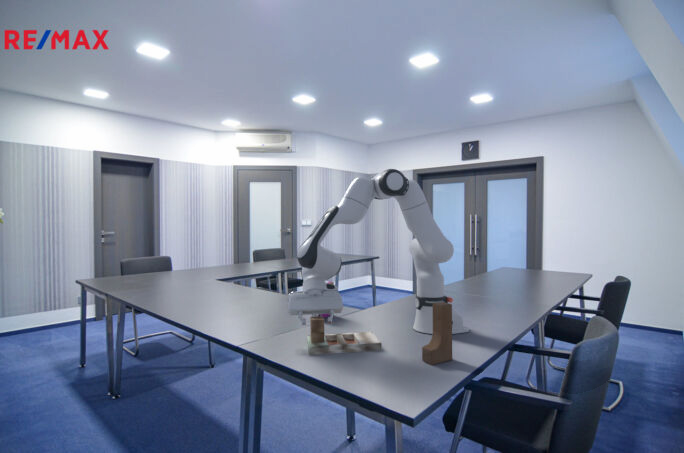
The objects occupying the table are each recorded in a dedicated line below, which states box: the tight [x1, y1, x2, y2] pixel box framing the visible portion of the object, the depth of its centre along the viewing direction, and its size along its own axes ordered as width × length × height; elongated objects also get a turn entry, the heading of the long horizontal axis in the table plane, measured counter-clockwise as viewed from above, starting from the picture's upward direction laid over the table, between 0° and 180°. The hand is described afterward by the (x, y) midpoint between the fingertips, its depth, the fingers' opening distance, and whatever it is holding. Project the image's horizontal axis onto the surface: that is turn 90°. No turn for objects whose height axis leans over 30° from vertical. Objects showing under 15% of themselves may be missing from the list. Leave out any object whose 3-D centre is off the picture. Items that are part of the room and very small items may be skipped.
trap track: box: [306, 331, 382, 356], centre depth 123 cm, size 25×13×2 cm, turn 100°
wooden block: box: [421, 302, 453, 366], centre depth 110 cm, size 9×4×18 cm, turn 118°
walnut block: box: [310, 316, 325, 343], centre depth 122 cm, size 4×4×8 cm
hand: (317, 323), depth 122 cm, fingers open, 8 cm apart
